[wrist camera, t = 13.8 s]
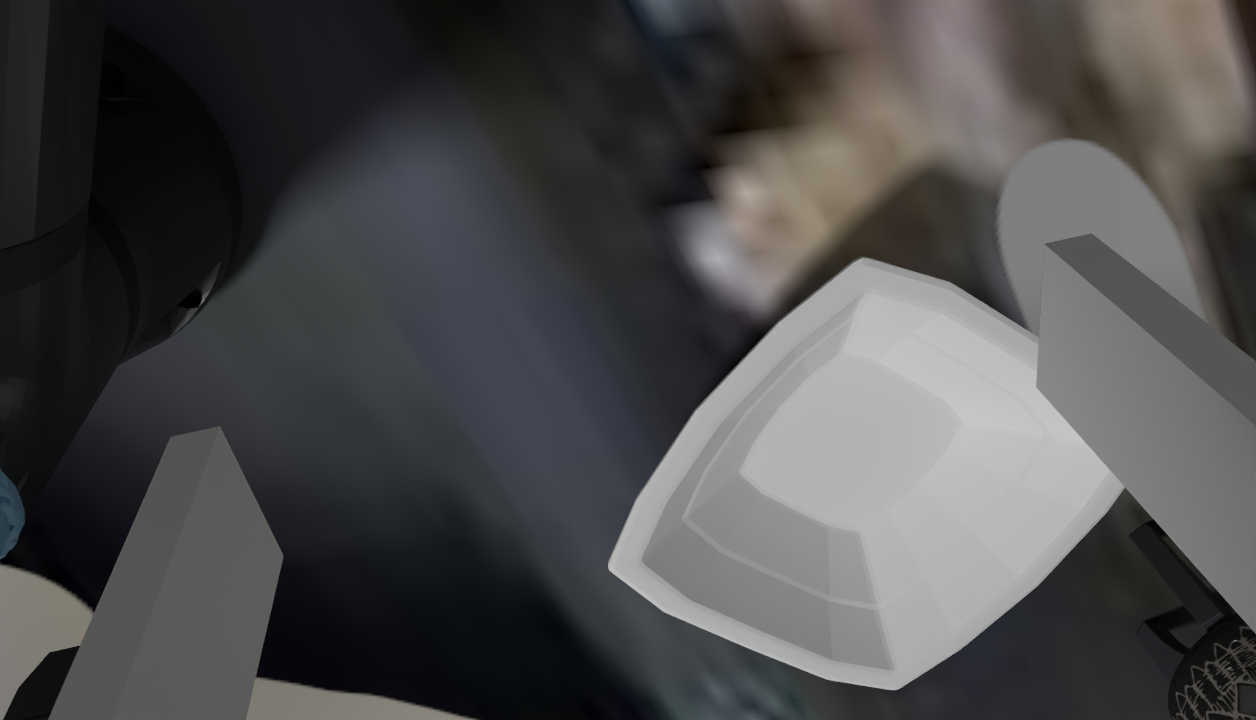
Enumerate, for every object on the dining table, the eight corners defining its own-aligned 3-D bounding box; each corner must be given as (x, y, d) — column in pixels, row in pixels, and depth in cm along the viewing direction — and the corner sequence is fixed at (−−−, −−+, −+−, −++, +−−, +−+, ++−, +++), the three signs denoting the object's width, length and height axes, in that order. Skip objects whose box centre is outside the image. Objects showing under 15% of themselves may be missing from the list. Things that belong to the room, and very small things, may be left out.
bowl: (871, 640, 63) (903, 713, 58) (560, 502, 55) (566, 574, 50) (1134, 380, 55) (1196, 440, 50) (814, 169, 46) (852, 216, 42)
